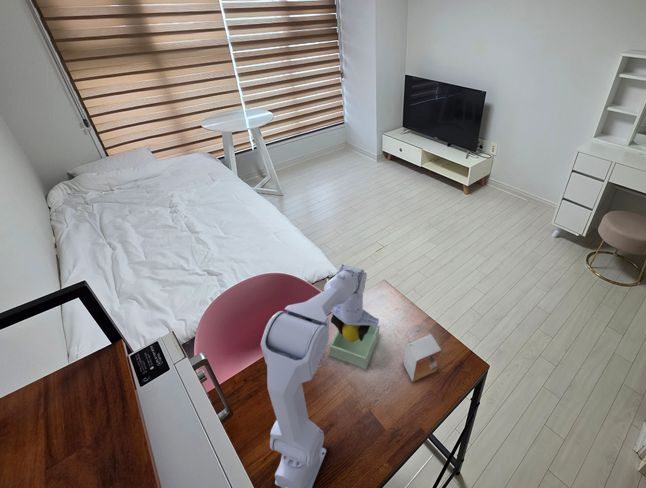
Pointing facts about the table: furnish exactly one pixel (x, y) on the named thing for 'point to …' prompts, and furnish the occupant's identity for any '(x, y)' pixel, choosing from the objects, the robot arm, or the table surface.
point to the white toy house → (422, 357)
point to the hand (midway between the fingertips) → (352, 334)
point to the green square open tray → (355, 348)
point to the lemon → (350, 332)
